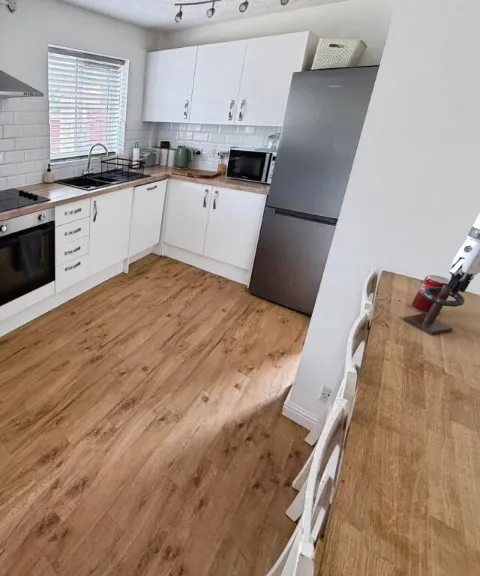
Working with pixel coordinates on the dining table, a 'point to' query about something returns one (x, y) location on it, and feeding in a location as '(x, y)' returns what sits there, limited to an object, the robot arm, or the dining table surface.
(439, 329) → the post
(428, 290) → the ring
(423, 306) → the soda can
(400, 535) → the dining table surface
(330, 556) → the dining table surface
